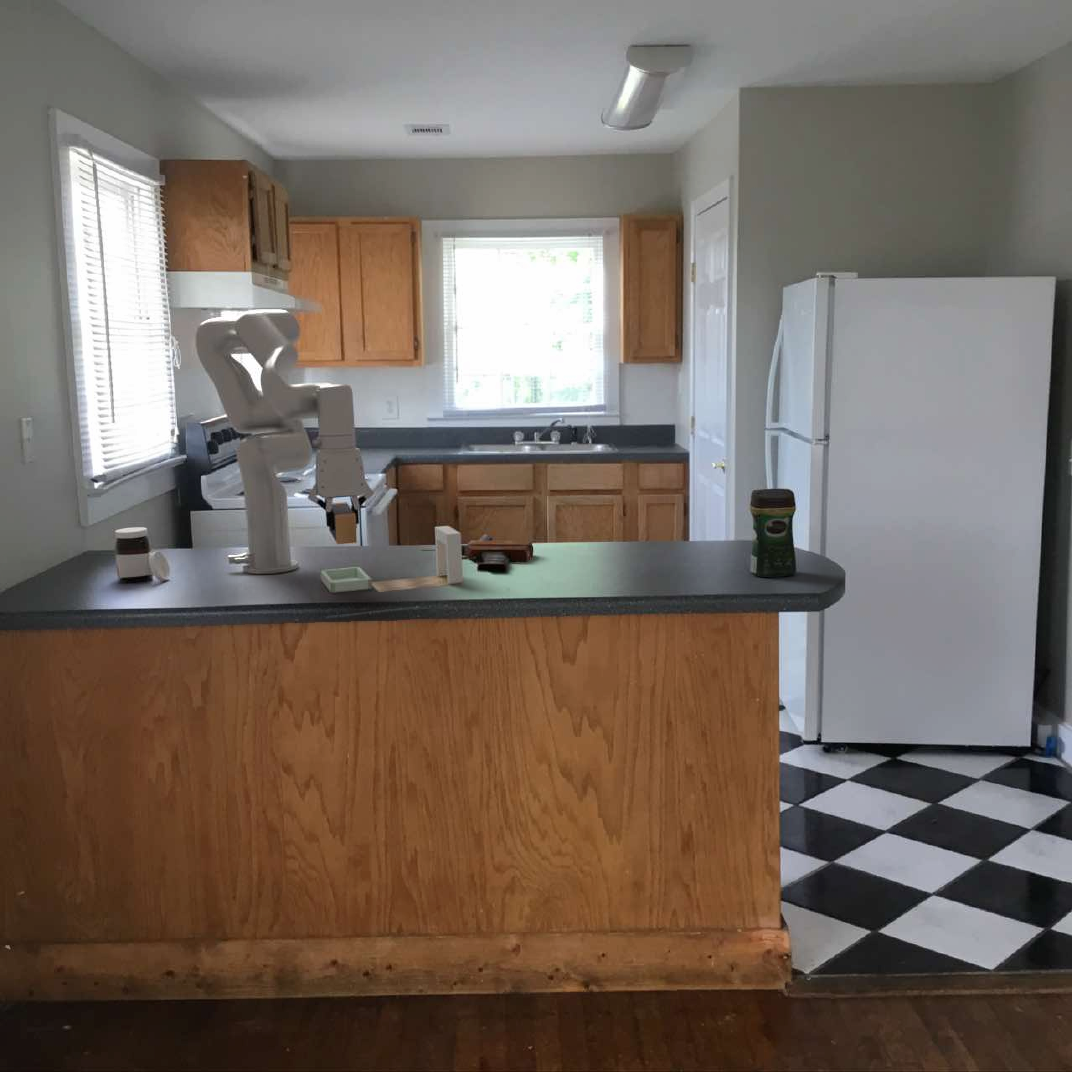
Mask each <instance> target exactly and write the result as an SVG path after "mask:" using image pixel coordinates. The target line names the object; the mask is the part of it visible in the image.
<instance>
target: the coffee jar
mask: <svg viewBox="0 0 1072 1072" xmlns="http://www.w3.org/2000/svg"><path fill="white" fill-rule="evenodd" d="M749 509H750V514H751V517H752V527H753V528H752V542H751V550H750V552H751V554H750V561H749V564H750V565H749V566H750V567H749V571H750V573H751V574H752V575H754V576H757V577H764V578H777V577H778V578H779V577H780V578H781V577H787V576H793V575H794V574H796V573H797V562H796V551H795V542H794V531H793V530H794V529H793V526H794V523H793V522H794V521H793V519H794V515H795V513H796V510H797V504H796V497H795V492H793V490H791V489H789V488H763V489H753V490H752V491H751V496H750V504H749Z"/></svg>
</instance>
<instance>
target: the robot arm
mask: <svg viewBox="0 0 1072 1072" xmlns="http://www.w3.org/2000/svg"><path fill="white" fill-rule="evenodd" d="M300 336H301V327H300V323H299V321H298V319H297V318H296V317H295V315H294V314H293V313H292V312H290V311H288V310H285V309H253V310H251V309H250V310H247V311H245V312H243V313H242V314H240V315H239V316H223V317H214V318H210V319H207V320H205V321H203V322H202V323H200V324H199V326H198V327H197V329H196V333H195V349H196V353H197V356H198V358H199V362H200V363H201V365H202V367H203V369H204V371H205V372H206V373H207V375H208V377H209V378H210V380H211V381H212V384H213V386H214V387H215V390H216V392H217V395H218V398H219V400H220V402H221V405H222V408H223V410H224V412H225V414H226V418H227V419H228V422H229V424H230V426H231V427H232V429H233V430H234V431H235V432H236V433H239V434H250V435H246V436H245V437H244V438H242V439H241V440H240V441H239V443H238V444H237V447H236V460H237V464H238V468H239V472H240V475H241V479H242V480H241V481H242V487H243V496H244V497H243V498H244V508H245V520H246V532H247V549H245V552H242V553H241V554H232V555H227V556H228V557H227V558H228V564H229V565H231V564H235V565H241V564H243V565H242V571H243V572H244V573H246V574H252V575H271V574H282V573H286V572H291V571H294V570H296V569H298V567H299V562H298V561H297V560H295V559H292V556H291V555H292V554H291V553H292V552H291V541H290V540H291V538H290V529H289V528H290V527H289V511H288V495H287V492H286V489H285V487H284V485H283V484H282V481H280V479H279V478H278V476H277V474H282V473H290V472H298V471H301V470H304V469H306V468H307V467H309V466H310V464H311V462H312V459H313V448H312V446H316V447H318V448H319V450H316V455H315V456H316V457H315V471H314V472H315V473H314V475H315V477H314V478H315V483H314V485H313V487H312V488H311V491H310V492H309V494H308V496H307V499H308V500H309V501H311V502H313V503H314V504H317V505H319V507H320V508H321V509H323V510H324V511H325V518H326V519H325V521H326V522H325V523H326V527H328V528H329V527H330V530H332V531H334V530H335V523H334V512H333V510H332V503H333V501H334V500H333V499H335V498H337V499H338V498H349V499H350V500H349V501H350V504H351V506H350V508H351V510H352V511H353V512H354V513H355V515H356V529H357V526H358V525H359V524H360V518H359V517H360V515H359V510H360V508H361V507H362V505H363V504H364V503H365V502H366V501H367V500H369V498H371V497H373V496H374V494H375V493H374V490H372V488H371V487H370V486H369V484H368V482H367V481H366V476H365V475H366V474H365V468H364V467H365V466H364V461H363V456H362V452H361V449H360V448H358V447H357V446H356V445H357V444H356V429H355V428H356V425H355V411H354V396H353V389H352V387H351V386H350V385H349V384H347V383H333V384H332V383H330V382H309V383H307V382H306V383H294V384H289V383H287V381H286V380H285V379H284V378H283V377H284V376H286V375H287V374H288V373H290V372H291V371H292V370H293V369H294V367H295V366H296V364H297V363H298V360H299V353H298V350H297V348H296V346H295V344H297V342H298V341H299V338H300ZM244 354H245V355H246V354H247V355H248V354H250V355H251V356H252V357H253V359H254V360H255V361H256V362H257V363H258V364H259V366H260V367H261V369H262V370H261V372H260V386H261V390H259V389H258V388H257V386H256V385H255V383H254V381H253V378H252V376H251V373H250V372H249V371H248V369H247V368H246V367H245V366H244V365H243V364H242V363H241V362H239V361H238V360H237V359H236V358H234V357H233V356H232V355H244ZM309 419H317V424H318V425H317V426H318V437H316V438H313V439H312V440H311V441H312V442H311V441H310V439H309V438H310V437H309V435H308V433H307V430H306V428H305V425H304V423H303V421H302V420H309ZM317 495H318V496H320V498H319V497H318V496H317ZM321 498H322V499H324V500H322V499H321Z"/></svg>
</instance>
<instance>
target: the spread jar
mask: <svg viewBox="0 0 1072 1072" xmlns="http://www.w3.org/2000/svg"><path fill="white" fill-rule="evenodd" d="M114 533H115V534H114V535H115V541H114V553H115V564H116V565H115V566H116V574H117V580H118V582H119V583H121V584H128V585H130V584H134V585H135V584H141V583H142V584H143V583H147V582H149V581H152V580H153V577H154V578H155V579H157V580H158V581H159V582H164V581H167V580H169V579H170V578H171V568H170V564H169V562H168V560H167V557H165V555H164V554H163V553H162V552H161V551H159V550H156V551H154V552H152V547H151V546H152V545H151V541H150V539H149V537H148V534H149V533H148V528H147V527H142V526H141V527H140V526H138V527H137V526H136V527H134V526H133V527H126V528H125V527H124V528H120V529H117V530H115V531H114Z"/></svg>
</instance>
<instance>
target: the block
mask: <svg viewBox="0 0 1072 1072" xmlns="http://www.w3.org/2000/svg"><path fill="white" fill-rule="evenodd" d="M332 510H333V512H334V523H335V530H334V531H332V530H330V527H329V526H328V530H329V532H330V534H331V535H332V537H333V539H334V540H335V542H336V544H337V545H344V544H353V543H354V544H355V543H356V544H357V541H358V539H357V528H356V515H355V513H354V512H353V511H352V510H351V506H350V505H349V503H348V501H342V502H332Z"/></svg>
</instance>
